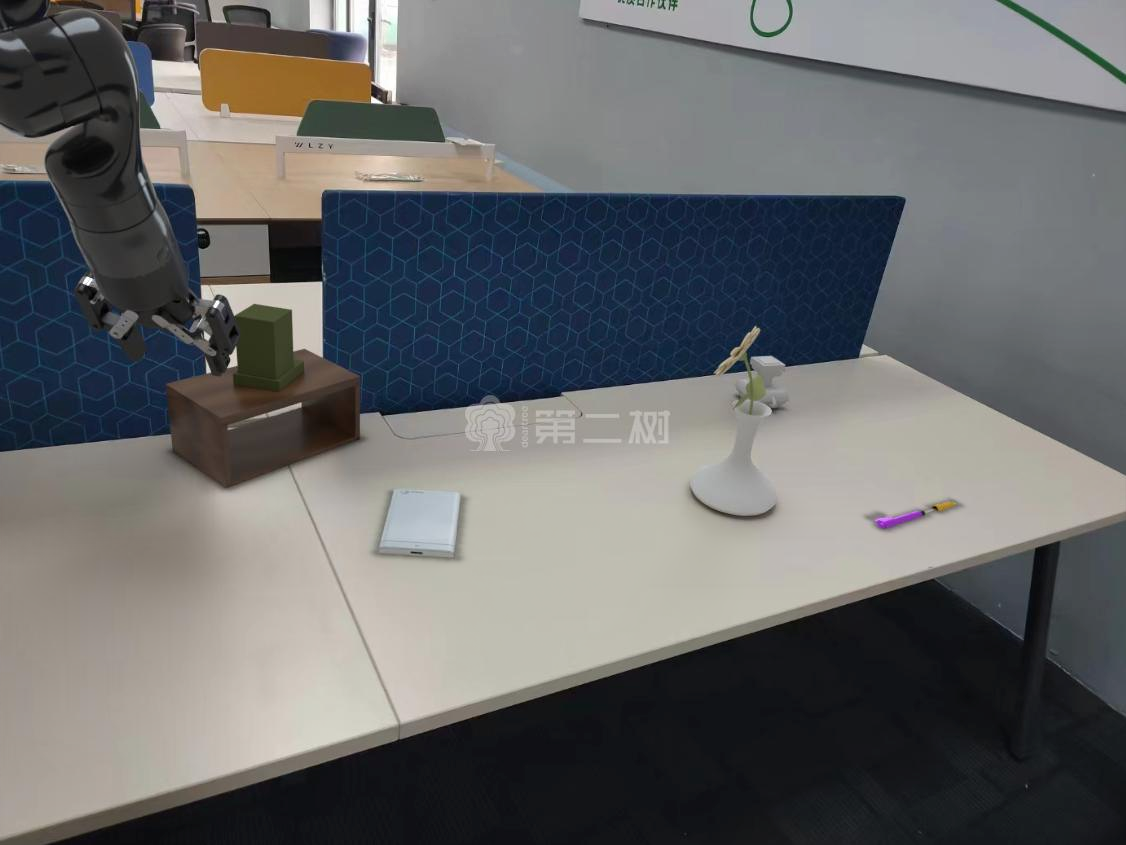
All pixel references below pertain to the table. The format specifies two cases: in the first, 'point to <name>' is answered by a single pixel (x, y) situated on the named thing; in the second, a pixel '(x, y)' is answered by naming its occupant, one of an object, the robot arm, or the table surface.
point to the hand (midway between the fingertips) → (179, 362)
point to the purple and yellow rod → (910, 516)
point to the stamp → (766, 381)
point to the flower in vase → (739, 453)
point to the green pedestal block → (266, 349)
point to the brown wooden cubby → (268, 442)
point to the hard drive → (421, 523)
